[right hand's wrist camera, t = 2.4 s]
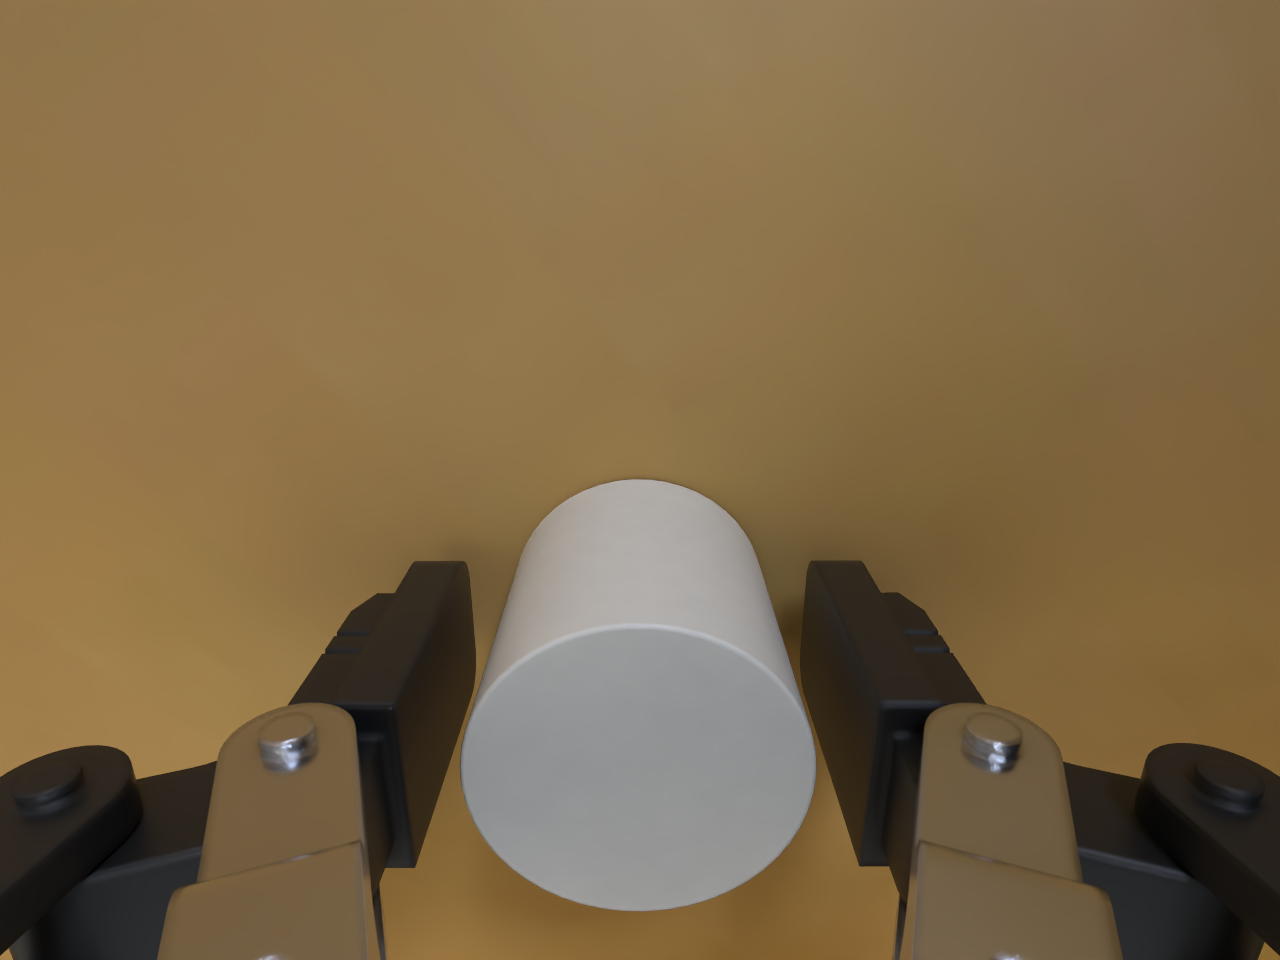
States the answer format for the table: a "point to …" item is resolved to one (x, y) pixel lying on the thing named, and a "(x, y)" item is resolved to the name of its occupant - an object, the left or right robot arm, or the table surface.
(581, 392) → the table surface
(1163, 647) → the table surface
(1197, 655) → the table surface
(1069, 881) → the right robot arm
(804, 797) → the canister
